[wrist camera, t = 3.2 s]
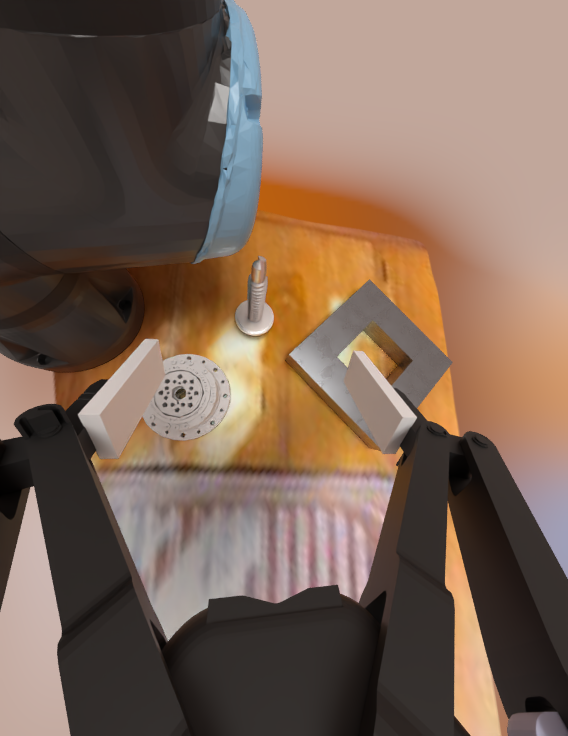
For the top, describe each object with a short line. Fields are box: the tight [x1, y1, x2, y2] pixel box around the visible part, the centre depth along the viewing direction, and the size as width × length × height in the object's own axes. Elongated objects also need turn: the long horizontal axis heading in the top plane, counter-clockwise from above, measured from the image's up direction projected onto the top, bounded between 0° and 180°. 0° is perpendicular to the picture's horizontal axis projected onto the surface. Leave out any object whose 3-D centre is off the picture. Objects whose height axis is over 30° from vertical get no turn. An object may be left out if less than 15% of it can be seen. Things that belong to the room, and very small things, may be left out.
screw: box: [235, 256, 274, 336], centre depth 25 cm, size 13×5×5 cm
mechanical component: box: [143, 354, 230, 440], centre depth 26 cm, size 10×4×10 cm
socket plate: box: [285, 280, 452, 451], centre depth 31 cm, size 16×16×3 cm
